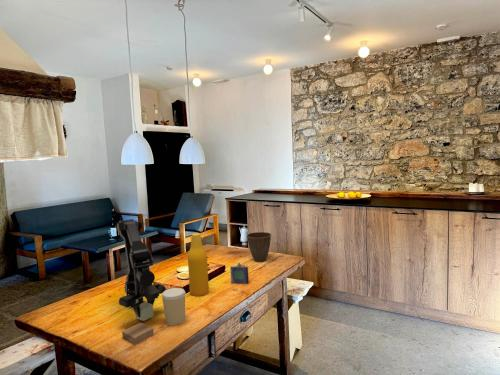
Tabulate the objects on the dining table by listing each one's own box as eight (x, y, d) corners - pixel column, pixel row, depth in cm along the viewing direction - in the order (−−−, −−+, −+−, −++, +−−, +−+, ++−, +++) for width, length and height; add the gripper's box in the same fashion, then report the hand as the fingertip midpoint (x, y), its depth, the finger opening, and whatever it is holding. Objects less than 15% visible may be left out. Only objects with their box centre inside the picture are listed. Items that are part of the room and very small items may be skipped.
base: (122, 339, 128) (122, 331, 128) (141, 329, 135) (140, 322, 134) (135, 345, 123) (134, 337, 123) (153, 335, 130) (153, 328, 129)
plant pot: (242, 261, 211) (241, 236, 209) (257, 255, 223) (256, 231, 221) (262, 265, 202) (261, 239, 200) (276, 258, 214) (275, 233, 212)
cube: (136, 317, 142) (135, 306, 142) (146, 313, 146) (145, 301, 146) (143, 321, 139) (142, 309, 139) (153, 316, 143) (152, 304, 143)
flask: (230, 283, 177) (229, 263, 176) (231, 281, 180) (231, 261, 178) (248, 284, 175) (247, 263, 174) (249, 282, 178) (248, 262, 177)
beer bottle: (210, 294, 164) (207, 235, 161) (191, 297, 161) (187, 237, 158) (207, 287, 173) (203, 231, 170) (188, 290, 170) (184, 233, 167)
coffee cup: (177, 313, 147) (175, 285, 145) (191, 319, 141) (190, 290, 139) (158, 321, 139) (156, 293, 138) (173, 328, 134) (171, 299, 132)
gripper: (133, 290, 129) (136, 329, 130) (172, 274, 143) (175, 310, 145) (116, 284, 136) (120, 321, 137) (156, 270, 150) (158, 304, 152)
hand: (144, 314), depth 143 cm, fingers closed on cube, 5 cm apart
